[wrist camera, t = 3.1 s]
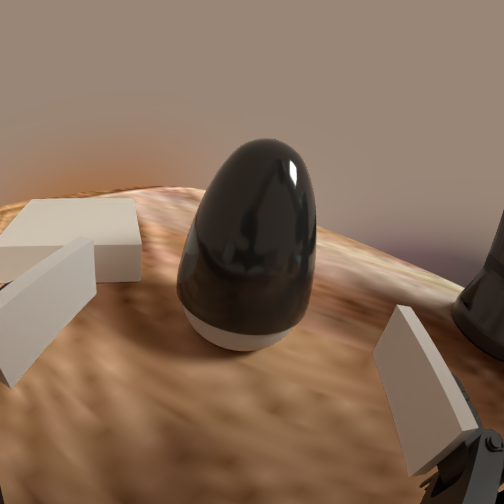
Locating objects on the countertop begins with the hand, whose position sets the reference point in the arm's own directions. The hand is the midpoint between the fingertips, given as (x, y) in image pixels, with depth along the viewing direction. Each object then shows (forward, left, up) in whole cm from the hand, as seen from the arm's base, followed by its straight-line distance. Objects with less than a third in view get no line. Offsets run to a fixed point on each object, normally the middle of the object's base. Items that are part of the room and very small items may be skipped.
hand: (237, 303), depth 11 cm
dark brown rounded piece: (-5, -8, -9) cm, 13 cm away
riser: (+10, -24, -9) cm, 28 cm away
